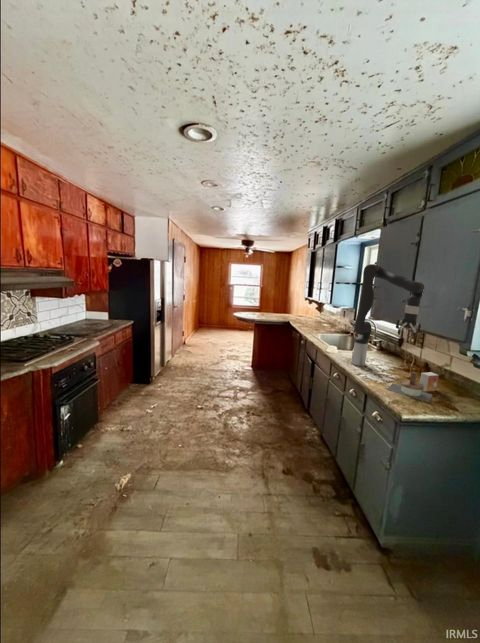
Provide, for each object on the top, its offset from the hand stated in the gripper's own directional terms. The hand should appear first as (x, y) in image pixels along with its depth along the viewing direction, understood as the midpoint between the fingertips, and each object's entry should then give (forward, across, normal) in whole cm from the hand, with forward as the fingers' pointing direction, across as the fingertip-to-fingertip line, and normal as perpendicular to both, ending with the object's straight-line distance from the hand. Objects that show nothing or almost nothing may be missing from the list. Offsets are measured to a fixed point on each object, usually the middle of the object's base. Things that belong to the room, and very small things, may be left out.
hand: (406, 336), depth 194 cm
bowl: (+28, +13, -24) cm, 40 cm away
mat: (+29, +12, -23) cm, 39 cm away
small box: (+29, +19, -9) cm, 36 cm away
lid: (+24, +13, -24) cm, 36 cm away
